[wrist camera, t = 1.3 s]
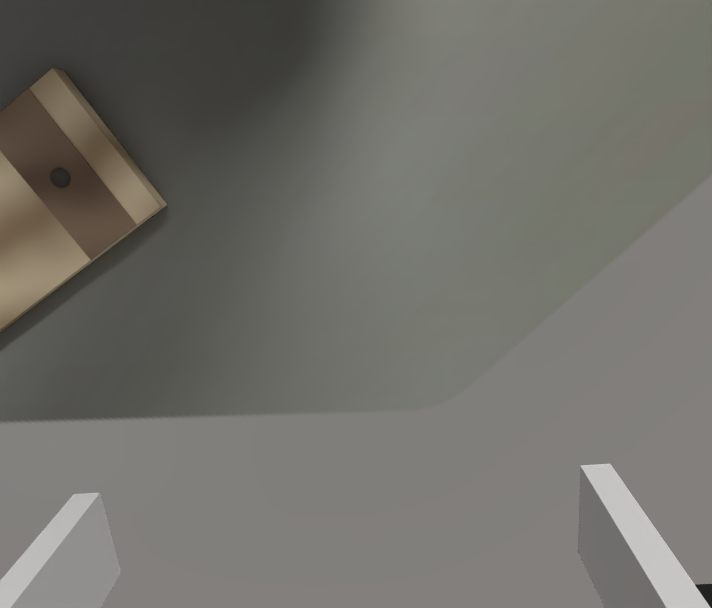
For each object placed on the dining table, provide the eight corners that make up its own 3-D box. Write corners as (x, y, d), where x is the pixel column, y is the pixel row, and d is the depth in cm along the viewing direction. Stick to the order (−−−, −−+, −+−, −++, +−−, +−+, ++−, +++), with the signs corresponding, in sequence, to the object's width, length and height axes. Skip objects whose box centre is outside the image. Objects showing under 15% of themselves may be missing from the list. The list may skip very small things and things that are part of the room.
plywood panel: (-126, 235, 38) (-145, 238, 36) (63, 70, 34) (49, 67, 33) (-22, 349, 40) (-36, 356, 38) (167, 204, 36) (158, 207, 35)
